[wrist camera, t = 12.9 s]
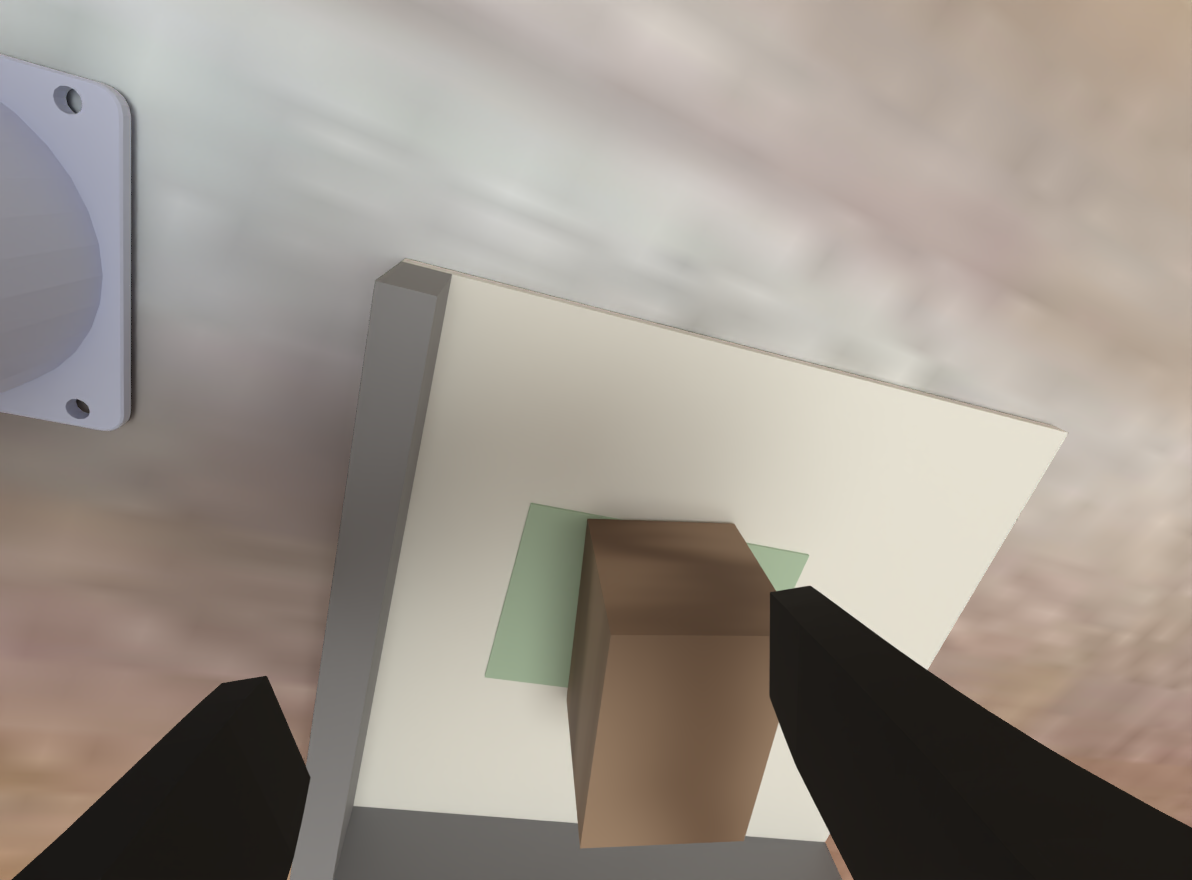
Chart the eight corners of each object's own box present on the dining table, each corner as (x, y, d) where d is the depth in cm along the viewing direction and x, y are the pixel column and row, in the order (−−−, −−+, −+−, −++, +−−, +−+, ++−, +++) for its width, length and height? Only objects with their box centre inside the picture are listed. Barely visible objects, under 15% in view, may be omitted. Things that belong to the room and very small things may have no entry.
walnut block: (566, 699, 21) (580, 848, 16) (587, 518, 18) (610, 635, 13) (695, 698, 21) (743, 840, 17) (734, 523, 19) (804, 636, 14)
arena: (318, 810, 22) (284, 920, 19) (405, 258, 15) (375, 280, 12) (807, 847, 26) (848, 942, 23) (1052, 425, 19) (1161, 476, 16)
